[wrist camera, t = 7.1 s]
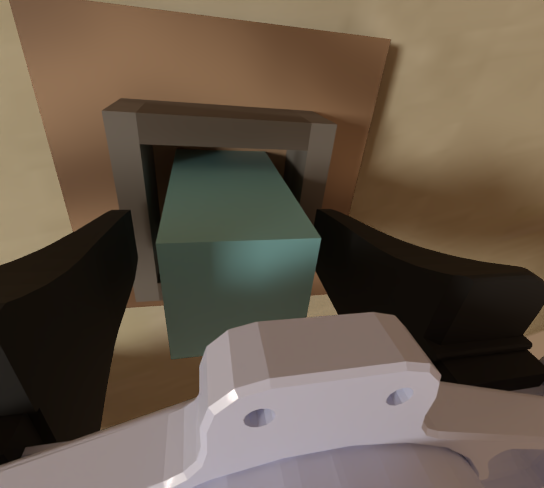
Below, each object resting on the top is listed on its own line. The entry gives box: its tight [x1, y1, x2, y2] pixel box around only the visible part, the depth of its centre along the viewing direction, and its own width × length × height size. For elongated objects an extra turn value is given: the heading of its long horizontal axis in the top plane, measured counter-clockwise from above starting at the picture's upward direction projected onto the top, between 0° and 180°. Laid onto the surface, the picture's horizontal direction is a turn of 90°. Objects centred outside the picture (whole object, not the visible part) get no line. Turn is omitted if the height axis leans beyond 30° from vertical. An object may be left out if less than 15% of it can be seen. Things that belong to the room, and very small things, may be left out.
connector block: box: [156, 149, 321, 359], centre depth 12 cm, size 4×4×8 cm
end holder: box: [9, 0, 391, 308], centre depth 14 cm, size 14×14×4 cm
